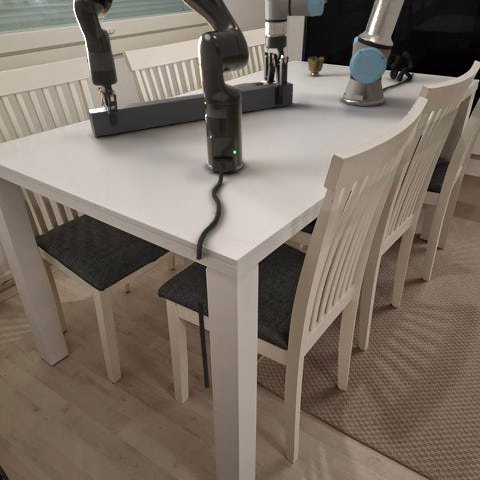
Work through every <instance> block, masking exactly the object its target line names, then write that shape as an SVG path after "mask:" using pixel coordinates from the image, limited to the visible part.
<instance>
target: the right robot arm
mask: <svg viewBox="0 0 480 480" xmlns="http://www.w3.org/2000/svg"><path fill="white" fill-rule="evenodd" d="M328 1H329V0H264V6H265V7H264V10H265V13H264V14H265V22H264V34H265V37H264V47H265V48H266V49H267V51H263V61H264V62H263V70H264V71H263V73H264V74H263V81H267V83H268V84H273V82H274V83H277V86H275V105H281V104H283V86H286V85H287V82H288V66H289V65H288V63H289V59H290V58H289V56H286V55H285V50H284V49H285V48H287V43H288V40H287V39H288V36H287V33H288V17H310V18H311V17H312V18H313V17H316V16H317V17H320V16H322V15H323V14H324V8H325V4H326V3H328ZM404 2H405V0H374V3H373V6H372V8H371V9H372V10H371V12H370V14H369V18H368V22H367V24H366V28H365V30H364V31H363V32H361V33H360V34H358V36H356V37H354V40H353V43H352V52H351V53H352V55H351V58H350V60H349V72H350V73H349V74H350V75H349V80H348V83H347V85H346V87H345V90H344V92H343V95H342V102H343V103H345V104H347V105H350V106H357V107H376V106H379V105H382V104H383V103H384V100H385V94H384V91H386V90H388V89H391V88H394V87H397V86H400V85H403V84H405V83H406V82H408V81H410V80H409V79H408V78H407V77H406V79H404V80H402V81H400V82H398V83H395V84H391V85H388V86H385V87H383V83H382V79H383V76H384V74H385V72H386V70H387V66H388V65H387V60H388V57H389V55H390V53H392V49H393V47H394V42H393V40H392V35H393V33H394V30H395V27H396V25H397V22H398V18H399V16H400V13H401V11H402V7H403V5H404ZM410 74H411V75H412V77H413V76H414V75H415V73H414V72H412V73H410ZM275 79H276V80H275Z"/></svg>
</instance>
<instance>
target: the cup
mask: <svg viewBox="0 0 480 480" xmlns="http://www.w3.org/2000/svg"><path fill="white" fill-rule="evenodd" d="M324 61H325V57H324V56H319V57H318V56H309V57H307V67H308V70H309V72H310V76H312V77H318V76H319V75H320V72H321V71H322V69H323V66H324Z"/></svg>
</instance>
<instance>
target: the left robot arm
mask: <svg viewBox="0 0 480 480" xmlns="http://www.w3.org/2000/svg"><path fill="white" fill-rule="evenodd" d="M181 1H182V2H183V4H184V5H186V6H187V7H188V8H189V9H190V10H192V12H194V13H195V14H196V15H198V16H199V17H200V18H202V19H203V20H204V21H205V22H206V23H207V24H208V25H209V27H210V28H211V29H212V30H210V31H205V32H203V33H202V34H201V35H200V37H199V39H198V42H197V43H198V44H197V57H198V64H199V65H198V67H199V74H200V83H201V90H202V94H204V101H205V133H206V134H205V135H206V151H207V152H206V153H207V168H208V169H209V170H211V172H212V173H218V181H217V183H216V184H215V185H214V187H213V188H212V190H211V197H212V199H213V201H214V202H215V205H216V209H215V215H214V218H213V220H212V221H211V222H210V223H209V224H208V226H206V227H205V228H204V229H203V231H202V232H201V233H200V235H199V237H198V240H197V242H196V243H197V244H196V255H195V256H196V260H197V261H201V260H202V258H203V243H204V240H205V238H206V236H207V235H208V234H209V233H210V232H211V231H212V229H214V228H215V227H216V225H217V224H218V222H219V220H220V218H221V214H222V204H221V201H220V199H219V197H218V195H217V192H218V190H219V189H220V187H221V186H222V185H223V180H224V173H237V171H239V170H240V169H242V168H243V166H244V159H243V114H242V113H243V112H242V94H241V90H240V89H239V88H238V87H235V86H234V85H232V84H231V85H230V84H227V83H226V81H225V77H224V73H229V72H235V71H236V72H237V71H240V70H242V69H244V68H245V67H246V66H247V65H248V62H249V60H250V50H249V46H248V42H247V39H246V37H245V35H244V33H243V31H242V30H241V27H240V26H239V24H238V23H237V21H236V20H235V18H234V16H233V15H232V13H231V12H230V10H229V8H228V7H227V5H226V3H225V1H224V0H181ZM113 3H114V0H73V13H74V16H75V18H76V21H77V23H78V25H79V28H80V31H81V32H82V34H83V37H84V41H85V48H86V53H87V62H88V67H89V72H90V77H91V82H92V85H93V86H97V87H98V89H97V90H98V93H99V97H100V101H101V106H102V108H104V107H107V109H108V113H109V118H110V124H111V125H112V126H116V125H118V120H117V115H116V113H118V108H117V106H118V100H117V94H116V92H115V89H113V87H112V86H113V85H115V84H118V81H119V80H118V74H117V69H116V62H115V58H114V54H113V49H112V44H111V43H112V42H111V37H110V34H109V32H108V30H106V29H105V28H103V27H102V25H101V22H100V20H101V19H103V18H105V17H106V16H107V15H108V14H109V12H110V11H111V8H112V6H113ZM112 106H113V107H114V109H111V107H112ZM197 312H198V314H197V315H198V325H199V338H200V350H201V358H202V369H203V382H204V383H203V384H204V388H206V389H209V388H210V377H209V376H210V375H209V364H208V352H207V341H206V328H205V316H204V315H205V314H204V313H205V312H204V302H200V301H199V300H197Z"/></svg>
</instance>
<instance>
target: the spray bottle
mask: <svg viewBox="0 0 480 480" xmlns="http://www.w3.org/2000/svg"><path fill="white" fill-rule="evenodd" d="M273 83H275V82H273ZM266 84H268V83H267V81H265V80H261V81H256V82H243V83H238V84H235V85H234V84H233V86H235V87H238V88H245V87H252V86H259V85H266Z"/></svg>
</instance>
